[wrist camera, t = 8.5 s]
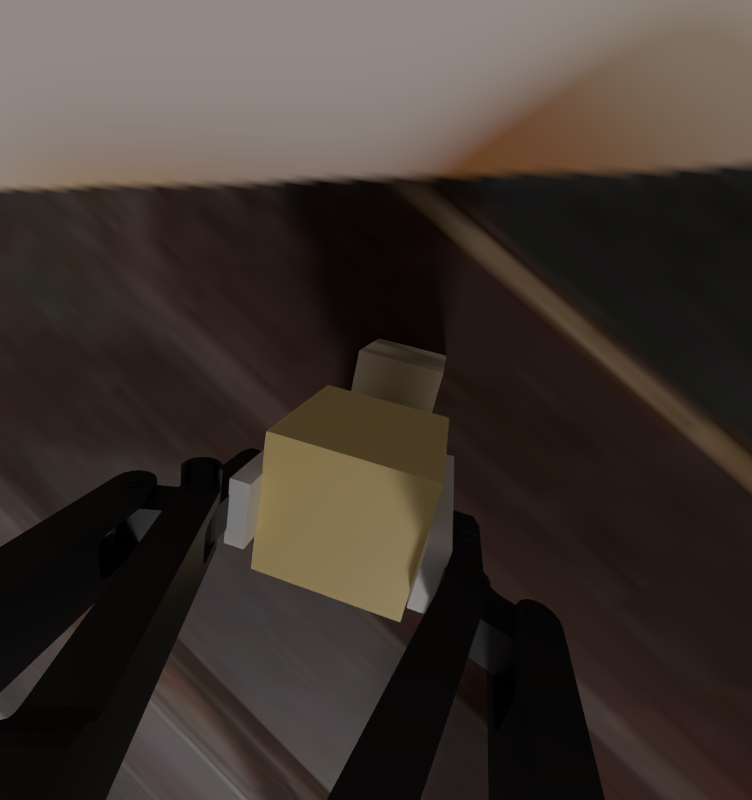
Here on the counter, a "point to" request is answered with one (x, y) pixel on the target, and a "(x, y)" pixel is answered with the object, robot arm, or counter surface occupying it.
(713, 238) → the counter surface
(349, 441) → the ochre cube
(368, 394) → the birch plinth
